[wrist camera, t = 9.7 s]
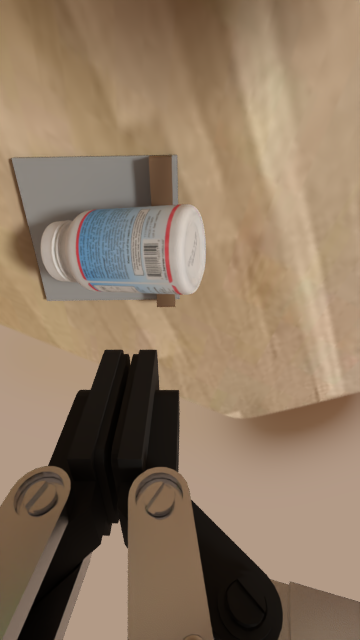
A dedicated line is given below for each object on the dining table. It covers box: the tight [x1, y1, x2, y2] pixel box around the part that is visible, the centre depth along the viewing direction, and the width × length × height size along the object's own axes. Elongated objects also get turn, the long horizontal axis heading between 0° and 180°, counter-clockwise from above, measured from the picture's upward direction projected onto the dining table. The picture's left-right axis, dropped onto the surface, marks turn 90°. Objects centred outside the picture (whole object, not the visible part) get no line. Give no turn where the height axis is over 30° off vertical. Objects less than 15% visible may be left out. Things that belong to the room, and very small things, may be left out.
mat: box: [11, 155, 180, 301], centre depth 28 cm, size 12×12×1 cm
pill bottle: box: [41, 204, 206, 295], centre depth 24 cm, size 6×6×11 cm
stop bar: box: [149, 155, 175, 307], centre depth 27 cm, size 2×12×2 cm, turn 1°
